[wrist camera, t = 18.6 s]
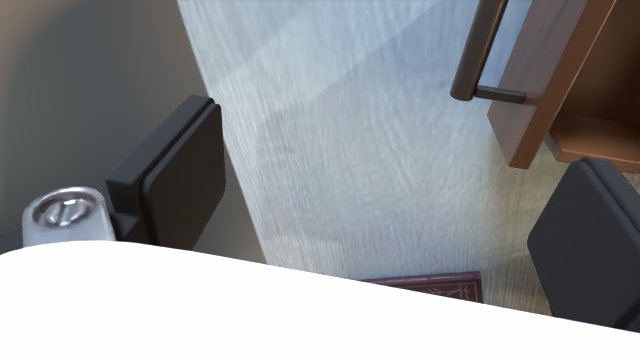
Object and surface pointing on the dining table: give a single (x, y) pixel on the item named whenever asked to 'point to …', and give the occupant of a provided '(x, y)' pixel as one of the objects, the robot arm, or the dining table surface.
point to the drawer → (561, 81)
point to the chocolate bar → (439, 285)
